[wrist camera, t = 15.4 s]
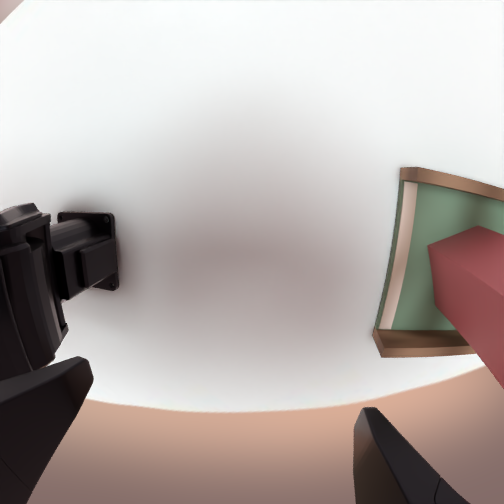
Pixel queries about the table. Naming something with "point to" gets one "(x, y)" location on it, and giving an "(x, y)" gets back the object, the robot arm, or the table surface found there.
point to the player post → (473, 290)
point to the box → (418, 263)
